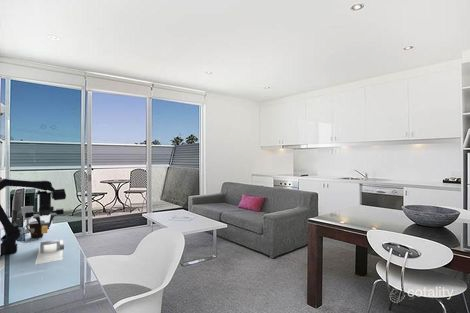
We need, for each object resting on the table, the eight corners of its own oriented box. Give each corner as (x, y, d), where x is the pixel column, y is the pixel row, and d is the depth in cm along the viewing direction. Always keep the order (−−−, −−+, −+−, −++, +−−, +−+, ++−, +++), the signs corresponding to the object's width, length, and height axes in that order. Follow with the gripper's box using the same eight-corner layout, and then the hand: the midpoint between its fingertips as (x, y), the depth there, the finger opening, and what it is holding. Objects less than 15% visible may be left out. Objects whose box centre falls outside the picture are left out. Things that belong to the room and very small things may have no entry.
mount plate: (34, 265, 131) (34, 264, 131) (41, 243, 163) (41, 242, 163) (62, 260, 137) (62, 259, 137) (63, 240, 169) (63, 239, 169)
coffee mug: (47, 236, 178) (47, 221, 178) (32, 239, 171) (32, 224, 171) (39, 233, 184) (39, 219, 184) (24, 236, 177) (24, 222, 177)
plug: (40, 234, 149) (40, 227, 149) (41, 228, 161) (41, 222, 161) (48, 232, 151) (48, 226, 151) (49, 227, 163) (49, 221, 163)
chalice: (20, 234, 183) (19, 208, 183) (22, 231, 189) (22, 206, 189) (33, 232, 187) (32, 207, 186) (35, 230, 193) (34, 205, 192)
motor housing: (40, 253, 146) (40, 244, 146) (41, 250, 150) (40, 242, 150) (63, 249, 152) (63, 241, 152) (64, 246, 156) (63, 238, 156)
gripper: (23, 204, 147) (23, 232, 147) (63, 201, 158) (63, 228, 158) (26, 202, 157) (25, 228, 157) (63, 199, 167) (63, 223, 167)
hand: (45, 227), depth 159 cm, fingers closed on plug, 4 cm apart
